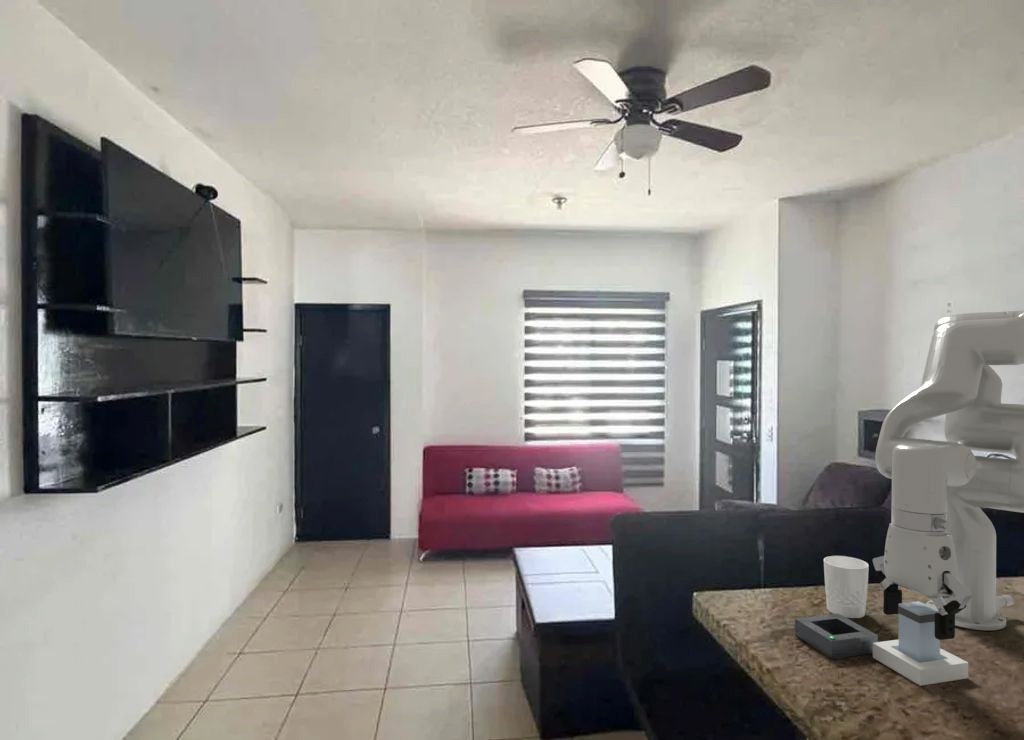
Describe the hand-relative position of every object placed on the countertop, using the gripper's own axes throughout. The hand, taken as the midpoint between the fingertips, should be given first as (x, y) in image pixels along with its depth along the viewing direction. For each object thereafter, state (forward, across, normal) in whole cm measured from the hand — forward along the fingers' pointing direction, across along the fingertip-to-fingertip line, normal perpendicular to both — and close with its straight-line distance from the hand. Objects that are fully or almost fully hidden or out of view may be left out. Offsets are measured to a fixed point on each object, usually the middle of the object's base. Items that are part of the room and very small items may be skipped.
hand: (917, 625), depth 99 cm
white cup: (+7, +22, -6) cm, 24 cm away
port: (+7, +11, +6) cm, 14 cm away
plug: (+7, 0, -1) cm, 7 cm away
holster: (+7, 0, -1) cm, 7 cm away
